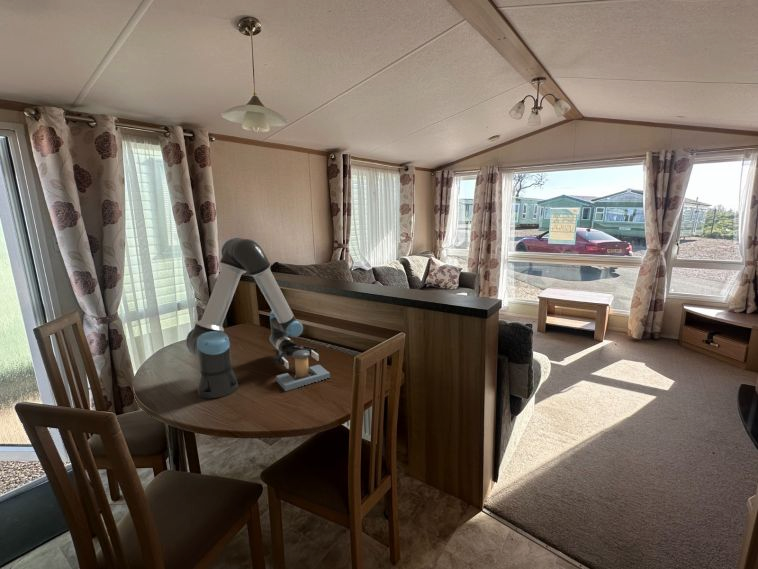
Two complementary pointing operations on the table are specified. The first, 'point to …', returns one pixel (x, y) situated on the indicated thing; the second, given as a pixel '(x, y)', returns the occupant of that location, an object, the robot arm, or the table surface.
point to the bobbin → (301, 364)
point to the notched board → (290, 383)
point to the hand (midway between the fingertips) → (303, 361)
